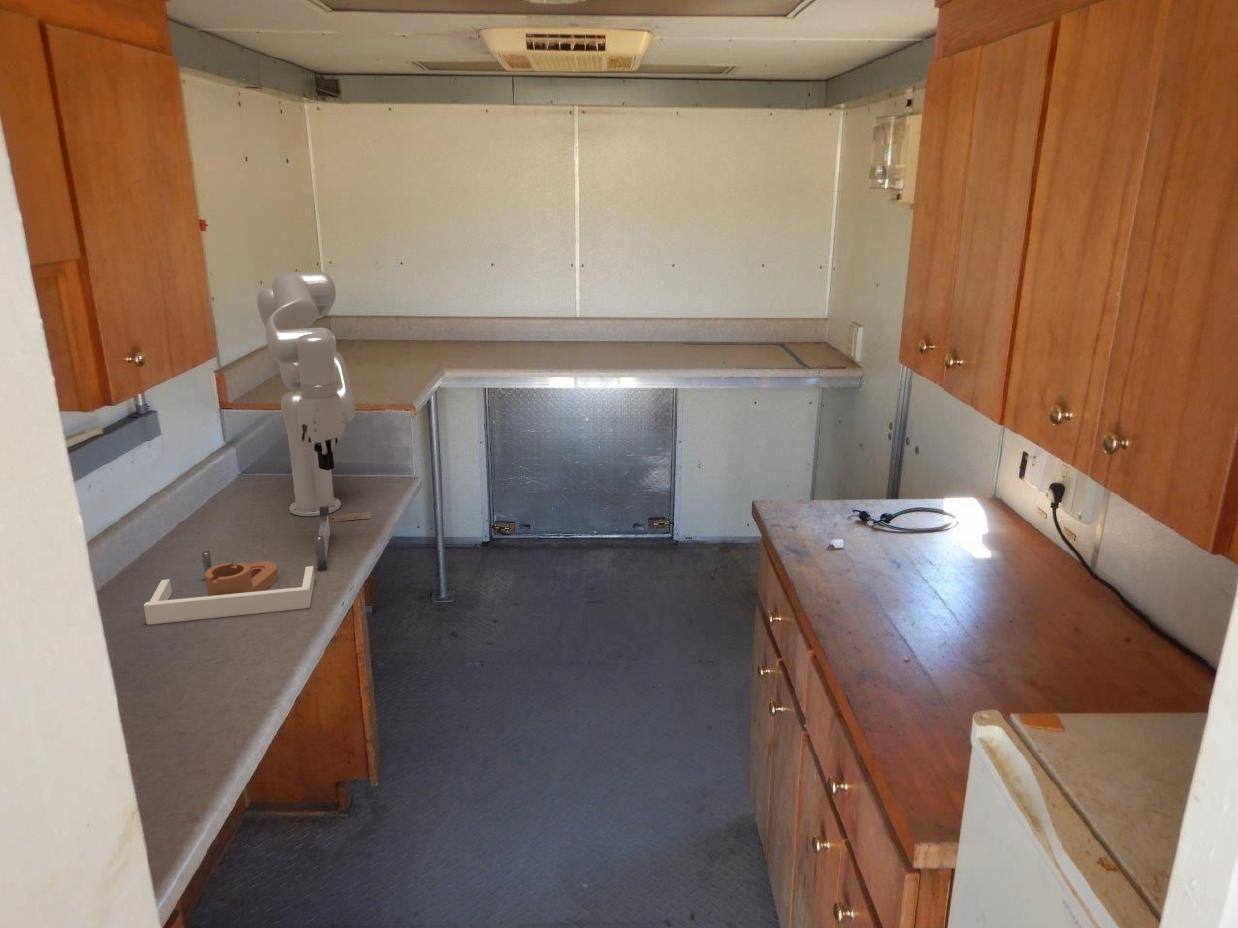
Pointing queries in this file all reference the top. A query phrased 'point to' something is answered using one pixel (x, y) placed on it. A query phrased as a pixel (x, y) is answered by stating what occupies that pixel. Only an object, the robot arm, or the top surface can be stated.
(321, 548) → the hinge post
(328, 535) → the gate
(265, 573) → the bracket
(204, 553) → the post
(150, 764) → the top surface
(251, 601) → the white u-shaped frame
